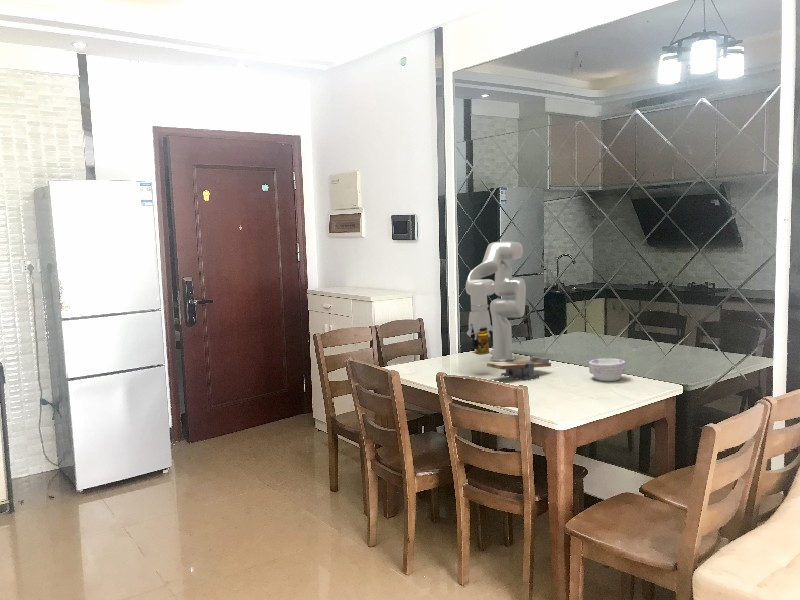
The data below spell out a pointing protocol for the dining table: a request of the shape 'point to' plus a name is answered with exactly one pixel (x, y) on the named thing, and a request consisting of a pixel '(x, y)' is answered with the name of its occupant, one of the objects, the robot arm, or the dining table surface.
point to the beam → (521, 363)
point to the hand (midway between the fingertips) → (481, 346)
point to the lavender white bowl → (607, 369)
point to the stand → (521, 372)
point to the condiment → (482, 343)
